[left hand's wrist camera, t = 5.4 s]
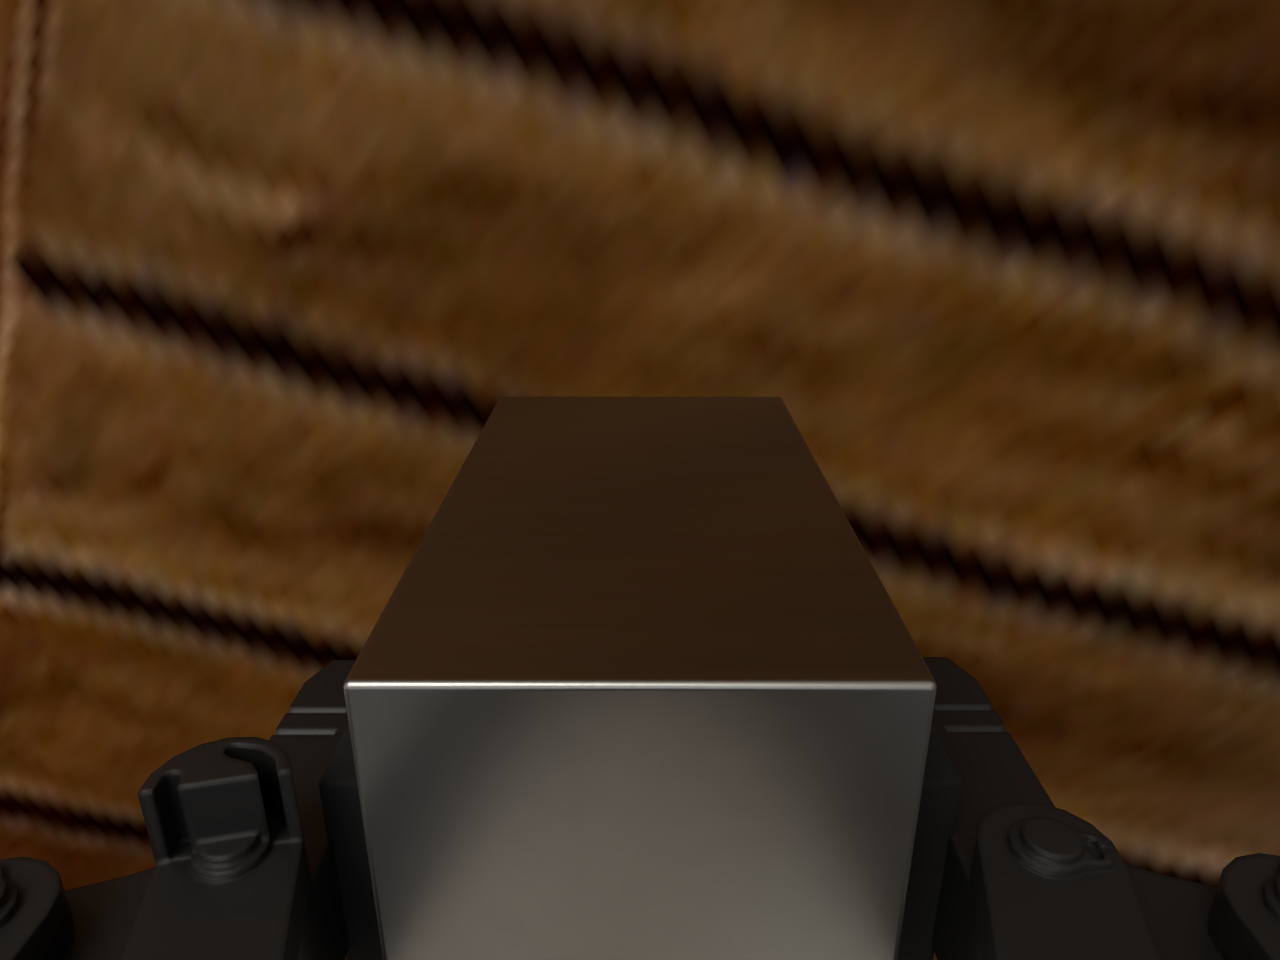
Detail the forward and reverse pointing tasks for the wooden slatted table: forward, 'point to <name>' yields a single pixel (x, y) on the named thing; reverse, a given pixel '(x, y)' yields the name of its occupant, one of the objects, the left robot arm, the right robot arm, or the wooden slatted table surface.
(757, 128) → the wooden slatted table surface
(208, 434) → the wooden slatted table surface
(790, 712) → the bar
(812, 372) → the wooden slatted table surface
